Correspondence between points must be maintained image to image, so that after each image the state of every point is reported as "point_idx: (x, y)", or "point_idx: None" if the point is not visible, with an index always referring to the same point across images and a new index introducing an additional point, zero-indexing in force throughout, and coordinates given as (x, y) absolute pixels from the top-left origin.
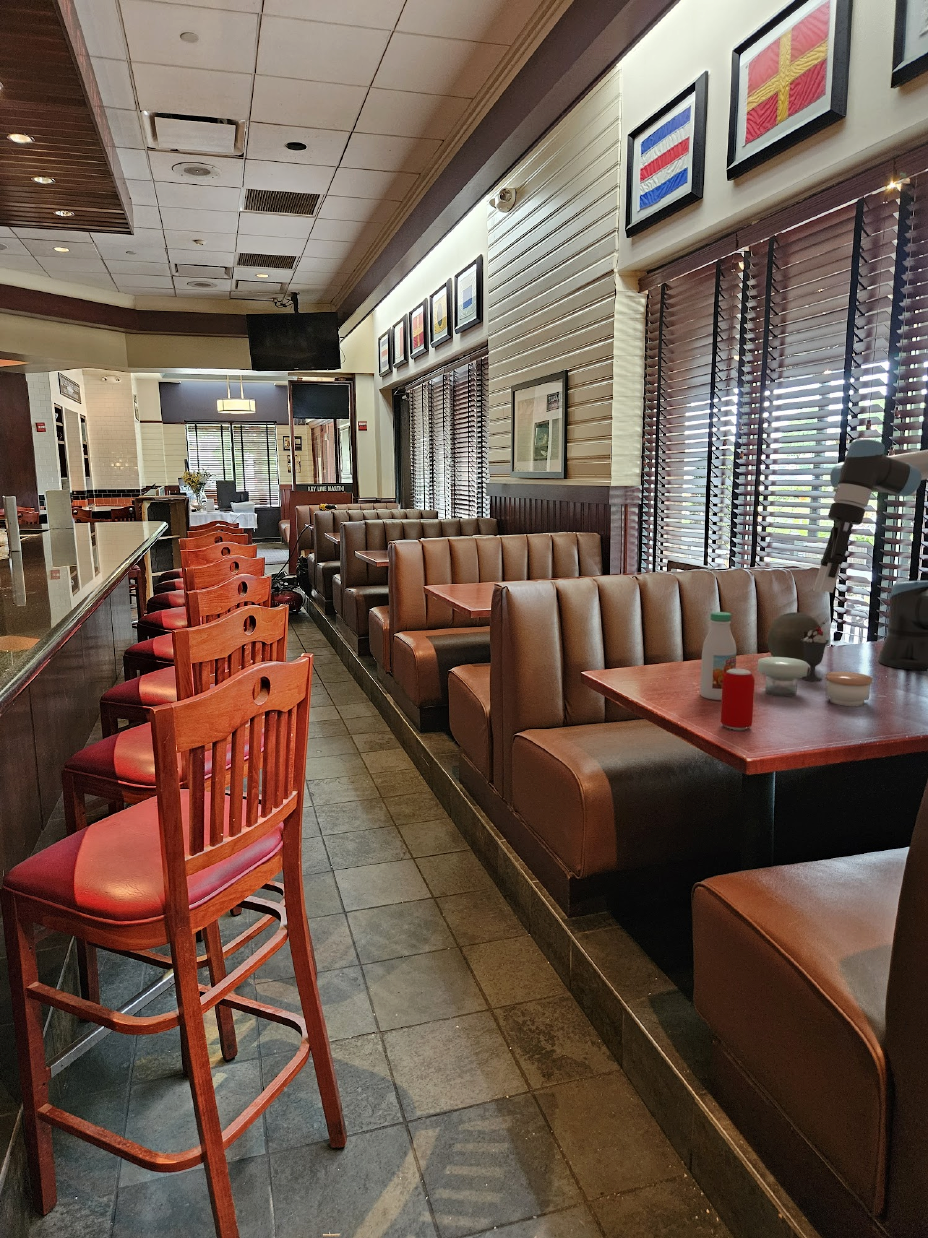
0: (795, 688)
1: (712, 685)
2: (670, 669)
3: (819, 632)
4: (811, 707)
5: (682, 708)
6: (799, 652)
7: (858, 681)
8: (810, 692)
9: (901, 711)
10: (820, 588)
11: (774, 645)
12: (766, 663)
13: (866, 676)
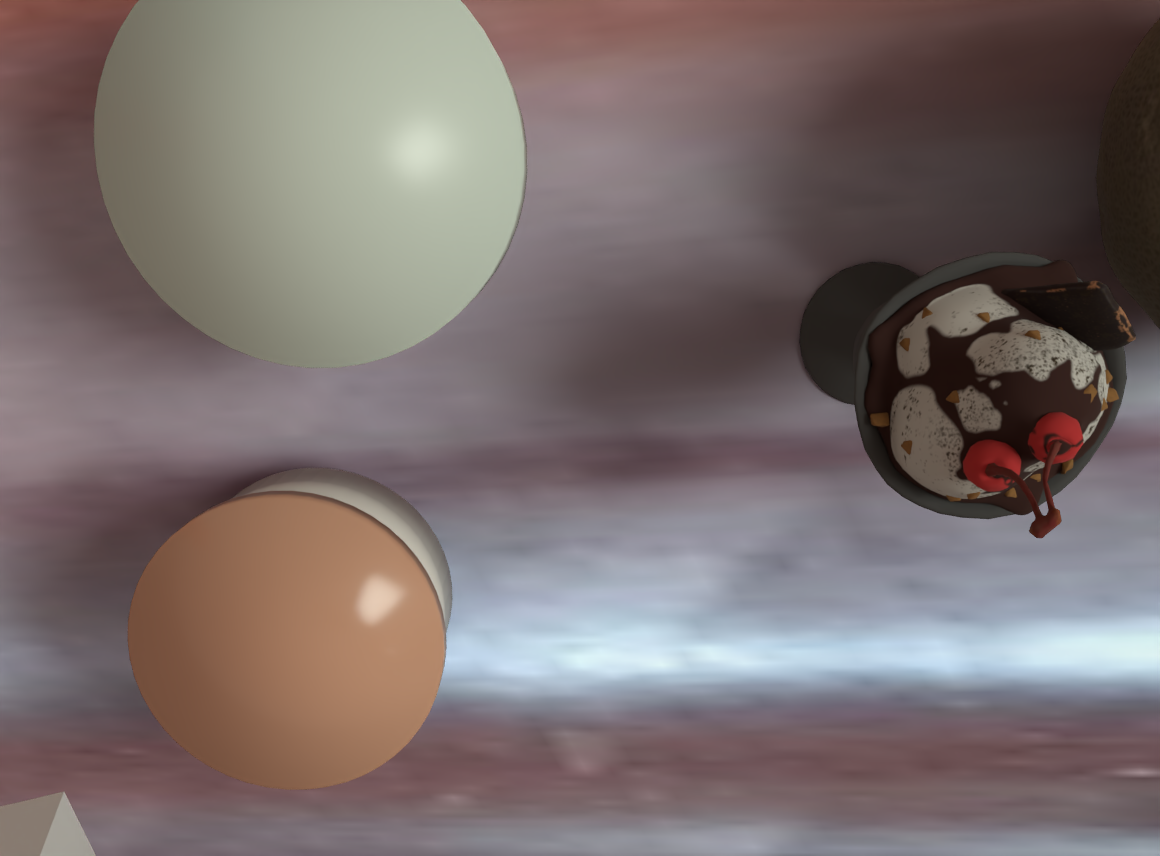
0: None
1: None
2: None
3: (971, 455)
4: (88, 391)
5: None
6: (1104, 230)
7: (172, 711)
8: (475, 355)
9: (274, 843)
10: (41, 818)
11: None
12: (171, 21)
13: (355, 755)
